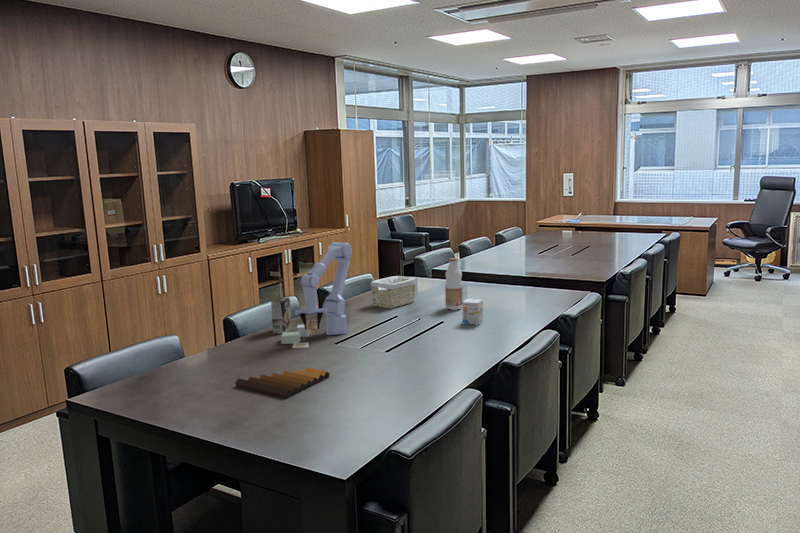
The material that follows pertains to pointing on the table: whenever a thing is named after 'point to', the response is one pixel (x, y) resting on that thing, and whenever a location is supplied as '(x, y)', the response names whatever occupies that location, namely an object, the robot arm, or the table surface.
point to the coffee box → (281, 315)
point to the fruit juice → (453, 285)
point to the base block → (290, 337)
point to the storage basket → (393, 291)
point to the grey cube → (302, 331)
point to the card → (300, 345)
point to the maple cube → (312, 326)
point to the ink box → (472, 311)
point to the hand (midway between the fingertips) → (312, 328)
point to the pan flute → (284, 382)
